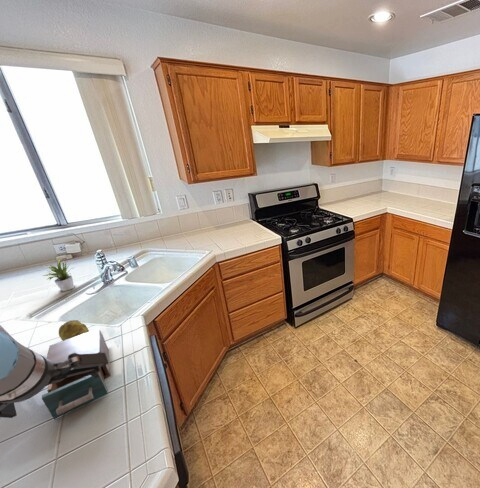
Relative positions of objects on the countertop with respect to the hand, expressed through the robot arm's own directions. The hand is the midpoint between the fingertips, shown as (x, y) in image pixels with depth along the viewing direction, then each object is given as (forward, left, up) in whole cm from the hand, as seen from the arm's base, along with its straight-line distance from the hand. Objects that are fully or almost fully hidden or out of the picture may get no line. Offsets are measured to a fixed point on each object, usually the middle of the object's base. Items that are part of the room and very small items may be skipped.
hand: (57, 389), depth 59 cm
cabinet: (-13, +26, -17) cm, 33 cm away
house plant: (-58, +99, -17) cm, 116 cm away
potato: (-24, +44, -17) cm, 53 cm away
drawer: (-8, +15, -16) cm, 23 cm away
